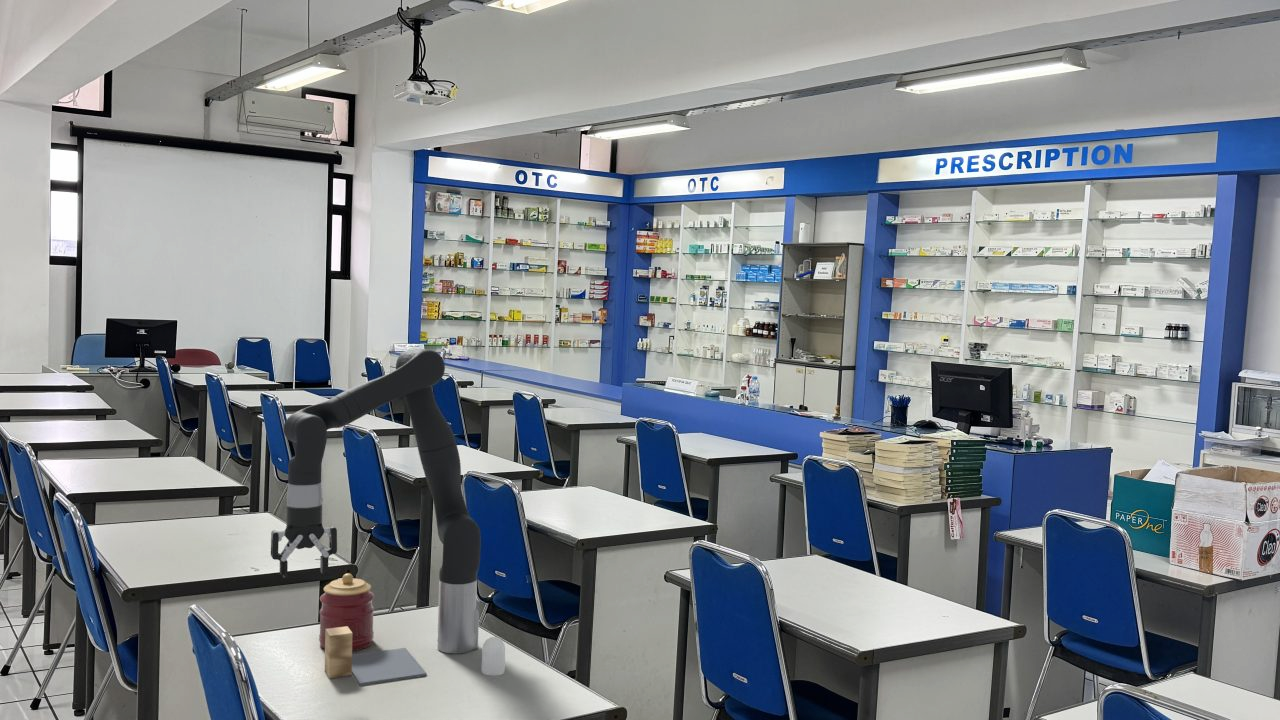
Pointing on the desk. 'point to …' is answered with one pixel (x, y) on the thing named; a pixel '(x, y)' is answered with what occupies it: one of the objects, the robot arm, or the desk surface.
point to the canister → (348, 610)
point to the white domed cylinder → (493, 656)
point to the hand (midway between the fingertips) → (303, 574)
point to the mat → (385, 666)
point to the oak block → (338, 652)
